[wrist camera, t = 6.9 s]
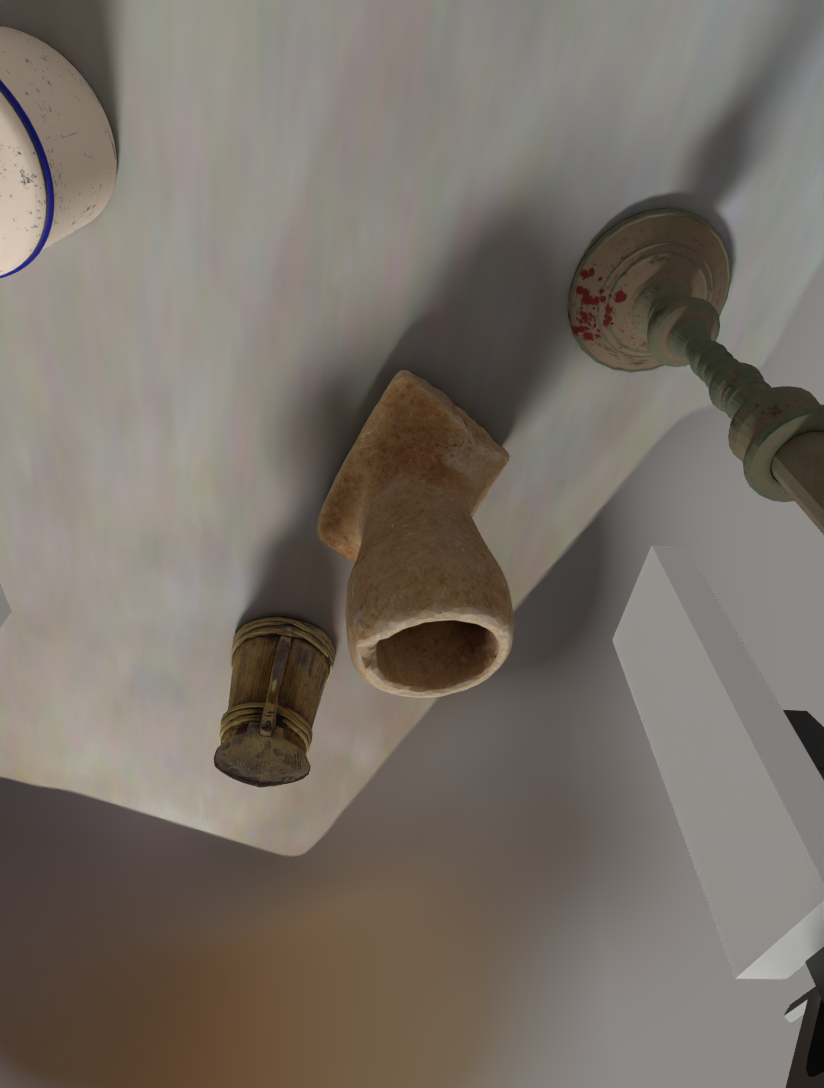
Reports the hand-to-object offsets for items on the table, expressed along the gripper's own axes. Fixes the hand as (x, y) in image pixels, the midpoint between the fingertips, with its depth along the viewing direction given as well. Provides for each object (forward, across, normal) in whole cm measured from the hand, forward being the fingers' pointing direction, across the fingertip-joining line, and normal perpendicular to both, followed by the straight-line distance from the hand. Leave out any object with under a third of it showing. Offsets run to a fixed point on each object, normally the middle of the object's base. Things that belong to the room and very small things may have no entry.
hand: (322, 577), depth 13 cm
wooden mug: (+28, -5, -32) cm, 43 cm away
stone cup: (+28, +4, -16) cm, 33 cm away
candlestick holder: (+28, +16, -2) cm, 32 cm away
